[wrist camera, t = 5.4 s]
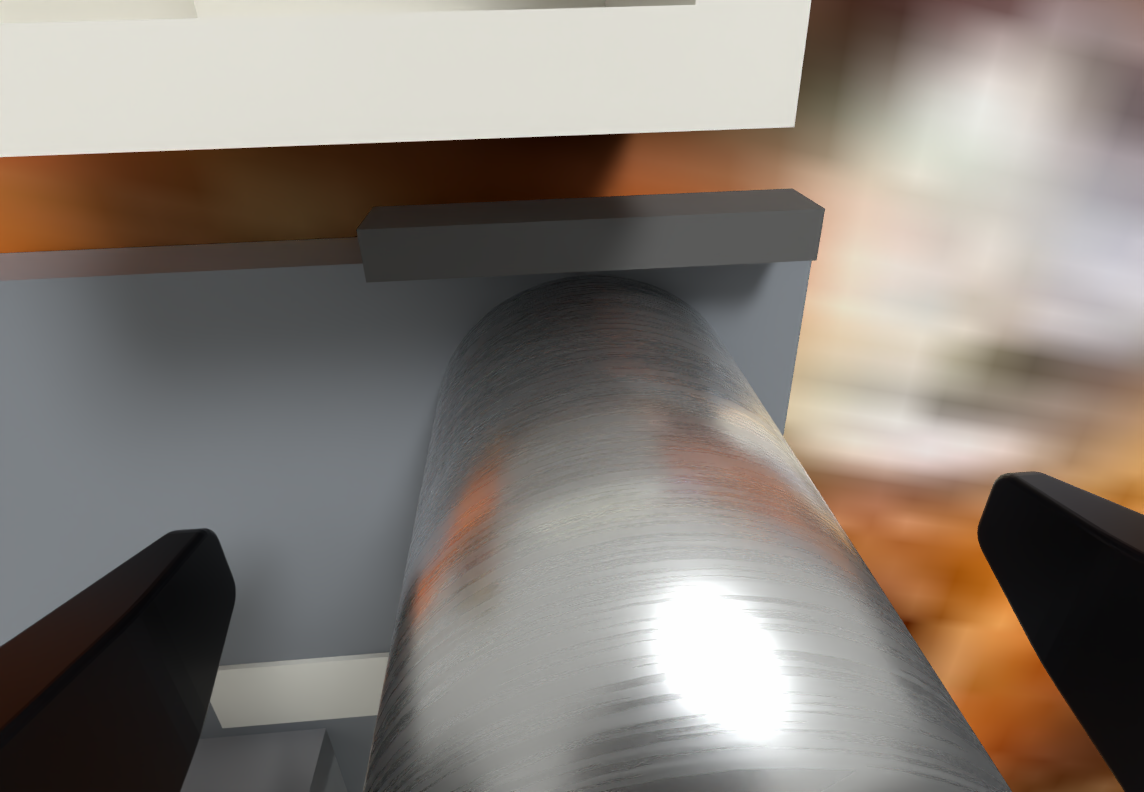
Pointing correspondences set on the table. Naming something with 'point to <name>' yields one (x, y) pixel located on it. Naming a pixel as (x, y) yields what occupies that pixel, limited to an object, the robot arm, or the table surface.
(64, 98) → the cup
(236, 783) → the grey board with socket
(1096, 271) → the table surface
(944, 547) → the table surface
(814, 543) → the cylinder
